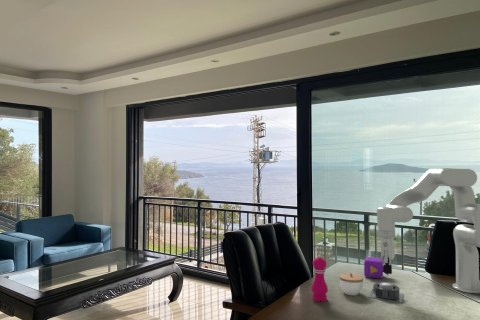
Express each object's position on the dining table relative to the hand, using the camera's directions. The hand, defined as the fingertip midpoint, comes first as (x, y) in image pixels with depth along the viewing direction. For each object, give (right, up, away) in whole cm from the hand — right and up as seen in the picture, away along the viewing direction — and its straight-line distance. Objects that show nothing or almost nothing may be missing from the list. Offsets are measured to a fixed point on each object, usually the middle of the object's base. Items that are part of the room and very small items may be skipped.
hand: (388, 273), depth 164 cm
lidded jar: (-16, -11, +3) cm, 20 cm away
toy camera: (+6, -12, +30) cm, 32 cm away
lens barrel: (-1, -10, -1) cm, 10 cm away
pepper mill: (-33, -10, -5) cm, 35 cm away
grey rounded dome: (-1, -9, 0) cm, 9 cm away
